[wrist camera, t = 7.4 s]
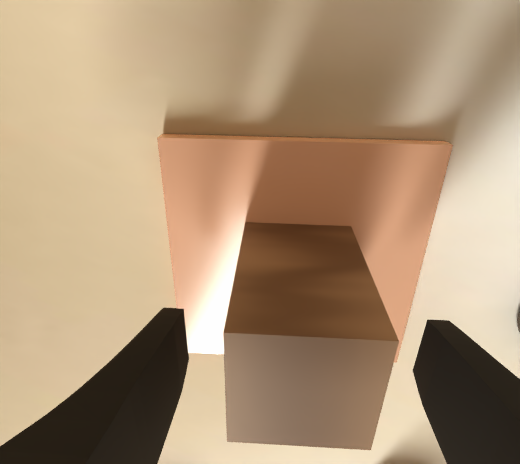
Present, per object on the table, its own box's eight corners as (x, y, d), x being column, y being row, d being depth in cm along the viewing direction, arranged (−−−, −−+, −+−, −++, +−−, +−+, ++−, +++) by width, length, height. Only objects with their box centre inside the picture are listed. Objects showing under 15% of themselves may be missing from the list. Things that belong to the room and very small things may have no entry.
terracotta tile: (445, 141, 12) (452, 144, 12) (393, 352, 17) (396, 362, 16) (162, 134, 13) (157, 137, 12) (184, 342, 17) (181, 352, 17)
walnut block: (350, 226, 13) (398, 341, 8) (338, 310, 15) (370, 450, 10) (245, 222, 14) (223, 332, 8) (245, 306, 15) (226, 441, 10)
